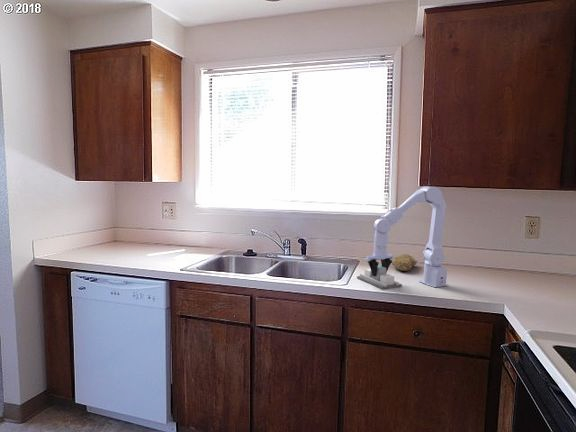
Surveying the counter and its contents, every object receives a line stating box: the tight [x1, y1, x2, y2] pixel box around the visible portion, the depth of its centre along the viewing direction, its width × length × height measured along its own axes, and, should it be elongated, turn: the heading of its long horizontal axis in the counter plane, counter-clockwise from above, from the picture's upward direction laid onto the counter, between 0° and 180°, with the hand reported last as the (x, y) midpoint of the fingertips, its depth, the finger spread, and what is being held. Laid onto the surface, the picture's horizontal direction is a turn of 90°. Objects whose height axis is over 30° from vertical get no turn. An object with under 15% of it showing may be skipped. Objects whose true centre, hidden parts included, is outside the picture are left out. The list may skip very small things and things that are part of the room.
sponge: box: [391, 254, 418, 272], centre depth 194 cm, size 13×8×20 cm
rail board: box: [356, 267, 403, 290], centre depth 167 cm, size 18×11×4 cm, turn 25°
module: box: [372, 265, 387, 281], centre depth 167 cm, size 5×4×6 cm
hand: (378, 275), depth 167 cm, fingers open, 5 cm apart
